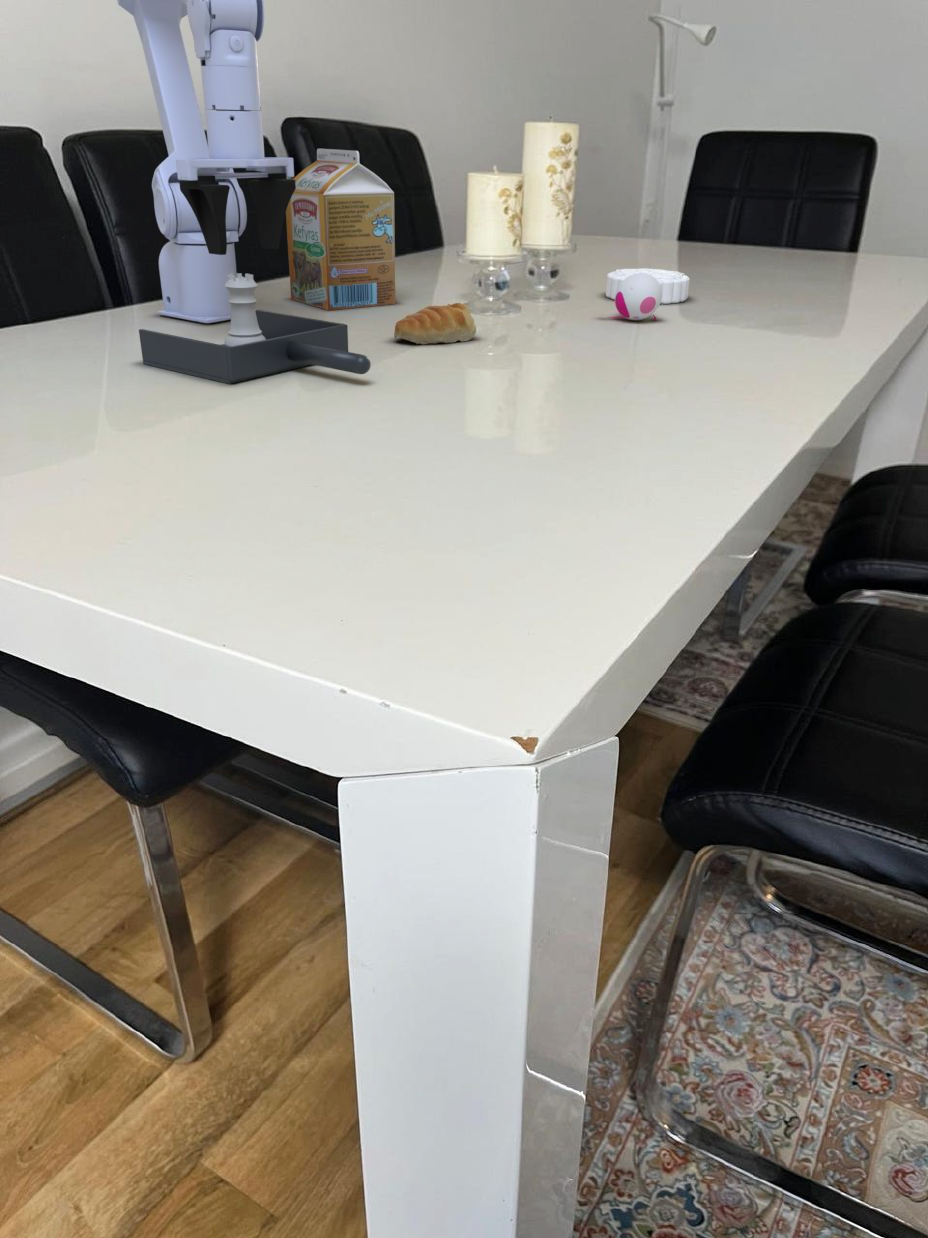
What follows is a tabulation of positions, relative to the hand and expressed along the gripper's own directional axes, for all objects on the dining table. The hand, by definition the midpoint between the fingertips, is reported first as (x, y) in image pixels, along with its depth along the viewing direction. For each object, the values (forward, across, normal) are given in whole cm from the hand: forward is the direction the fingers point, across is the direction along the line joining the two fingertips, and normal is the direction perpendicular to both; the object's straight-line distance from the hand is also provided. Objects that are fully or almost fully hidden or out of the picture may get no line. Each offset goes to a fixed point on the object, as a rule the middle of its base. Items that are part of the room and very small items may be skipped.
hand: (244, 251), depth 106 cm
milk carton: (+10, +26, +10) cm, 29 cm away
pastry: (+10, +14, -16) cm, 23 cm away
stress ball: (+10, +41, -27) cm, 50 cm away
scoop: (+9, -8, -13) cm, 18 cm away
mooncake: (+10, +59, -20) cm, 63 cm away
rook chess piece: (+9, -8, -8) cm, 15 cm away
